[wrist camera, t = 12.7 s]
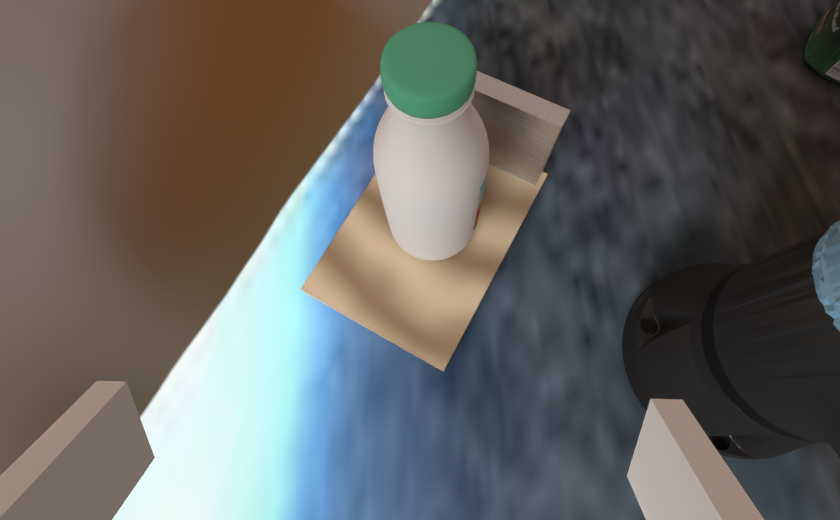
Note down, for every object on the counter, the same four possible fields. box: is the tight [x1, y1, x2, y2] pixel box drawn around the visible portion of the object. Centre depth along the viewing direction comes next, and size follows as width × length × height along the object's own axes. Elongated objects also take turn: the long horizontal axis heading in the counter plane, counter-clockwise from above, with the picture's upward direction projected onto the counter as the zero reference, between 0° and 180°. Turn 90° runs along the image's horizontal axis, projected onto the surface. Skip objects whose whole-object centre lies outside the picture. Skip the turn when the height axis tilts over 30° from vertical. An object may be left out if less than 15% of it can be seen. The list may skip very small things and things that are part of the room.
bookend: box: [471, 71, 571, 185], centre depth 37 cm, size 2×13×9 cm, turn 61°
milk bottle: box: [373, 22, 489, 261], centre depth 30 cm, size 8×8×20 cm
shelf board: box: [301, 164, 548, 372], centre depth 40 cm, size 20×14×2 cm
